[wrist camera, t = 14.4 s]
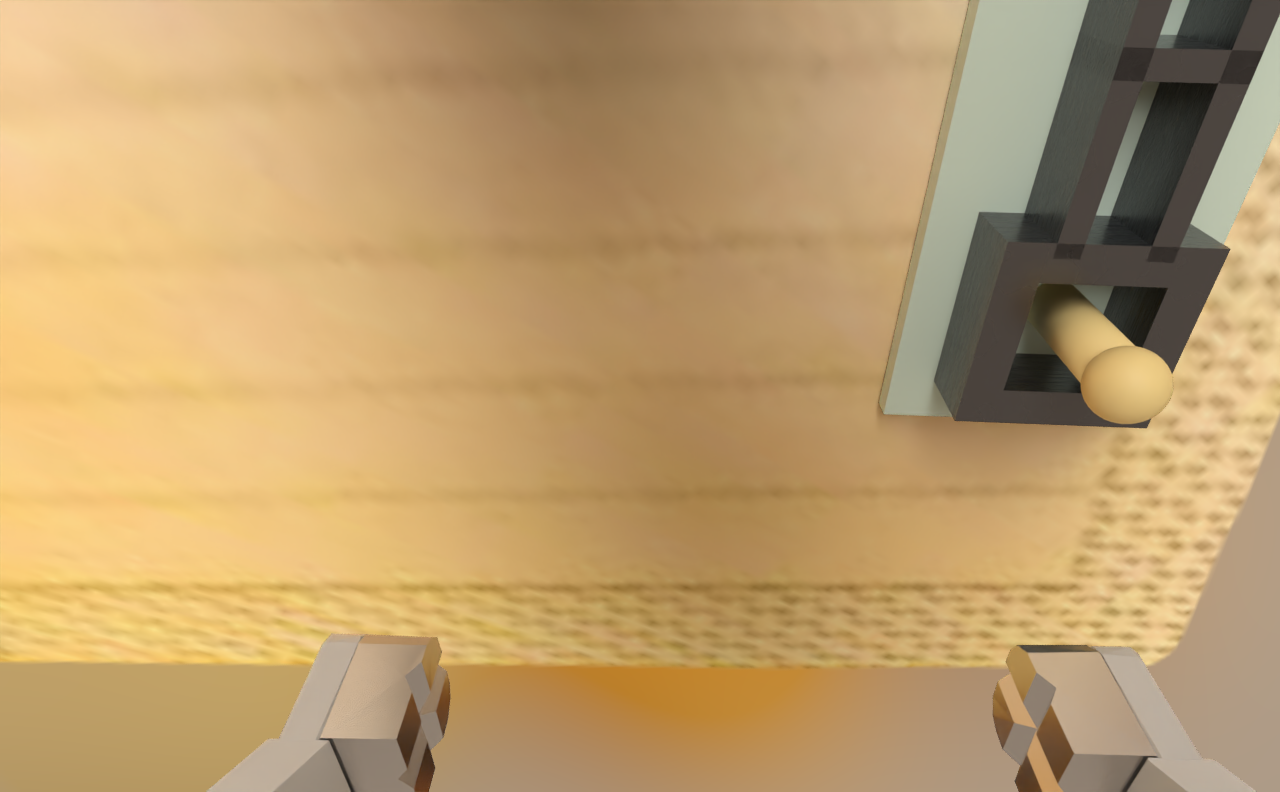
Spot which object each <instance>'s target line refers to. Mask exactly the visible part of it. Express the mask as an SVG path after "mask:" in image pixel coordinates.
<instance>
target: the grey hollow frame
mask: <svg viewBox="0 0 1280 792" xmlns="http://www.w3.org/2000/svg"><path fill="white" fill-rule="evenodd" d="M1171 2H1172V0H1089V2H1088V5H1087V9H1086V12H1085V15H1084V18H1083V22H1082V25H1081V28H1080V32H1079V35H1078V38H1077V42H1076V45H1075V48H1074V51H1073V55H1072V58H1071V61H1070V65H1069V68H1068V71H1067V75H1066V78H1065V81H1064V85H1063V88H1062V91H1061V94H1060V98H1059V101H1058V104H1057V108H1056V111H1055V114H1054V118H1053V121H1052V124H1051V127H1050V131H1049V134H1048V137H1047V141H1046V144H1045V147H1044V151H1043V154H1042V157H1041V160H1040V164H1039V167H1038V170H1037V174H1036V177H1035V180H1034V184H1033V187H1032V190H1031V194H1030V197H1029V200H1028V203H1027V207H1026V210H1025V213H1003V212H979V214H978V218H977V222H976V225H975V229H974V233H973V237H972V240H971V244H970V248H969V251H968V255H967V259H966V263H965V266H964V270H963V274H962V277H961V281H960V285H959V289H958V292H957V296H956V300H955V304H954V307H953V311H952V315H951V318H950V322H949V326H948V330H947V333H946V337H945V341H944V344H943V348H942V352H941V356H940V359H939V363H938V367H937V370H936V374H935V378H934V382H935V384H936V386H937V388H938V390H939V392H940V394H941V396H942V397H943V399H944V401H945V403H946V405H947V407H948V409H949V411H950V413H951V414H952V416H953V418H954V420H955V421H973V422H999V423H1025V424H1051V425H1077V426H1103V427H1128V428H1147V427H1148V424H1149V422H1150V420H1151V419H1149V420H1146V421H1143V422H1140V423H1135V424H1118V423H1114V422H1110V421H1107V420H1105V419H1103V418H1101V417H1099V416H1098V415H1096V414H1095V413H1094V412H1093V411H1092V410H1091V409H1090V408H1089V407H1088V406H1087V404H1086V402H1085V401H1084V399H1083V396H1082V393H1081V383H1080V382H1079V381H1078V380H1077V378H1076V377H1075V376H1074V375H1073V374H1072V372H1071V371H1070V370H1069V369H1068V368H1067V366H1066V365H1065V364H1064V363H1063V362H1062V360H1061V359H1060V358H1059V357H1058V356H1057V355H1052V354H1025V353H1016V351H1017V348H1018V345H1019V342H1020V339H1021V336H1022V333H1023V330H1024V327H1025V324H1026V321H1027V318H1028V315H1029V312H1030V309H1031V306H1032V303H1033V300H1034V297H1035V294H1036V291H1037V288H1038V285H1039V283H1043V284H1073V285H1102V286H1114V288H1113V290H1112V293H1111V295H1110V298H1109V301H1108V303H1107V306H1106V308H1105V311H1104V313H1103V315H1104V316H1105V317H1106V318H1107V319H1108V320H1109V321H1110V322H1111V323H1112V324H1113V325H1114V326H1115V327H1116V328H1117V329H1119V330H1120V331H1121V332H1122V333H1123V334H1124V335H1125V336H1126V337H1127V338H1128V339H1129V340H1130V341H1131V342H1132V343H1133V344H1134V345H1135V346H1137V347H1141V348H1145V349H1147V350H1150V351H1152V352H1154V353H1155V354H1157V355H1158V356H1159V357H1161V358H1162V359H1163V360H1164V361H1165V363H1166V364H1167V365H1168V367H1169V369H1170V371H1171V373H1173V371H1174V369H1175V367H1176V364H1177V362H1178V360H1179V358H1180V356H1181V354H1182V352H1183V349H1184V347H1185V345H1186V343H1187V341H1188V339H1189V337H1190V334H1191V332H1192V330H1193V328H1194V326H1195V324H1196V322H1197V319H1198V317H1199V315H1200V313H1201V311H1202V309H1203V307H1204V305H1205V302H1206V300H1207V298H1208V296H1209V294H1210V292H1211V290H1212V287H1213V285H1214V283H1215V281H1216V279H1217V277H1218V275H1219V272H1220V270H1221V268H1222V266H1223V264H1224V262H1225V260H1226V257H1227V255H1228V253H1229V251H1230V248H1228V247H1226V246H1225V245H1223V244H1222V243H1220V242H1219V241H1217V240H1215V239H1214V238H1212V237H1211V236H1209V235H1208V234H1206V233H1204V232H1203V231H1201V230H1200V229H1198V228H1197V227H1195V226H1193V225H1192V224H1190V223H1191V221H1192V218H1193V216H1194V214H1195V211H1196V209H1197V207H1198V204H1199V202H1200V200H1201V197H1202V195H1203V193H1204V190H1205V188H1206V186H1207V183H1208V181H1209V179H1210V176H1211V174H1212V172H1213V169H1214V167H1215V165H1216V162H1217V160H1218V158H1219V155H1220V153H1221V151H1222V148H1223V146H1224V144H1225V141H1226V139H1227V137H1228V134H1229V132H1230V130H1231V127H1232V125H1233V123H1234V120H1235V118H1236V116H1237V113H1238V111H1239V109H1240V106H1241V104H1242V102H1243V99H1244V97H1245V95H1246V92H1247V90H1248V88H1249V85H1250V83H1251V81H1252V78H1253V76H1254V74H1255V71H1256V69H1257V67H1258V64H1259V62H1260V60H1261V57H1262V55H1263V53H1264V50H1265V48H1266V46H1267V43H1268V41H1269V39H1270V36H1271V34H1272V32H1273V29H1274V27H1275V25H1276V22H1277V20H1278V18H1279V15H1280V0H1190V1H1189V4H1188V6H1187V9H1186V12H1185V15H1184V17H1183V20H1182V23H1181V25H1180V28H1179V31H1178V34H1177V35H1160V33H1161V31H1162V28H1163V25H1164V22H1165V19H1166V17H1167V14H1168V11H1169V8H1170V5H1171ZM1143 81H1145V82H1160V83H1159V85H1158V88H1157V91H1156V94H1155V96H1154V99H1153V102H1152V105H1151V107H1150V110H1149V113H1148V115H1147V118H1146V121H1145V124H1144V126H1143V129H1142V132H1141V134H1140V137H1139V140H1138V143H1137V145H1136V148H1135V151H1134V154H1133V156H1132V159H1131V162H1130V164H1129V167H1128V170H1127V173H1126V175H1125V178H1124V181H1123V184H1122V186H1121V189H1120V192H1119V194H1118V197H1117V200H1116V203H1115V205H1114V208H1113V211H1112V214H1111V216H1097V215H1096V213H1097V210H1098V208H1099V205H1100V202H1101V199H1102V196H1103V194H1104V191H1105V188H1106V185H1107V182H1108V180H1109V177H1110V174H1111V171H1112V168H1113V165H1114V163H1115V160H1116V157H1117V154H1118V151H1119V149H1120V146H1121V143H1122V140H1123V137H1124V135H1125V132H1126V129H1127V126H1128V123H1129V121H1130V118H1131V115H1132V112H1133V109H1134V106H1135V104H1136V101H1137V98H1138V95H1139V92H1140V90H1141V87H1142V84H1143Z"/></svg>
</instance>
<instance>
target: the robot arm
mask: <svg viewBox="0 0 1280 792" xmlns="http://www.w3.org/2000/svg"><path fill="white" fill-rule="evenodd" d="M441 653H442V651H441V648H440V644H439V641H438V638H437V637H415V636H390V635H367V634H331V635H330V636H329V637H328V638H327V639H326V640H325V642H324V643H323V644H322V646H321V648H320V650H319V652H318V654H317V656H316V659H315V661H314V663H313V665H312V667H311V670H310V672H309V674H308V676H307V678H306V680H305V683H304V685H303V687H302V689H301V691H300V693H299V696H298V698H297V700H296V702H295V704H294V706H293V709H292V711H291V713H290V715H289V717H288V720H287V722H286V724H285V726H284V729H283V730H282V733H281V735H280V737H279V739H268V740H266V741H265V742H264V743H263V744H262V745H260V746H259V747H258V748H257V749H256V750H255V751H253V752H252V753H251V754H250V755H249V756H247V757H246V758H245V759H244V760H243V761H241V762H240V763H239V764H238V765H237V766H236V767H235V768H233V769H232V770H231V771H230V772H229V773H227V774H226V775H225V776H224V777H223V778H221V779H220V780H219V781H218V782H217V783H216V784H214V785H213V786H212V787H211V788H210V789H208V790H207V791H206V792H429V789H430V786H431V781H432V778H433V774H434V771H435V765H434V762H433V758H432V755H431V751H430V750H431V749H432V748H433V747H434V746H435V745H436V744H437V743H438V742H439V741H440V740H441V739H442V738H443V737H444V733H445V729H446V725H447V720H448V715H449V705H450V682H449V678H448V674H447V671H446V670H444V669H443V668H442V667H440V666H439V665H438V664H439V660H440V657H441ZM1006 663H1007V666H1008V668H1009V671H1010V674H1008V675H1007V676H1005V677H1004V678H1002V679H1001V680H999V681H998V682H997V685H996V688H995V691H994V695H993V718H994V723H995V728H996V732H997V735H998V738H999V740H1000V743H1001V746H1002V749H1003V750H1004V751H1005V752H1006V753H1007V754H1008V755H1009V756H1010V757H1011V758H1013V759H1014V760H1015V761H1016V762H1017V763H1018V764H1019V765H1020V767H1019V770H1018V773H1017V776H1016V779H1015V783H1016V786H1017V788H1018V791H1019V792H1256V791H1255V790H1254V789H1253V788H1251V787H1250V786H1249V785H1247V784H1246V783H1245V782H1243V781H1242V780H1241V779H1239V778H1238V777H1237V776H1235V775H1234V774H1233V773H1231V772H1230V771H1229V770H1227V769H1226V768H1225V767H1223V766H1222V765H1221V764H1219V763H1218V762H1217V761H1216V760H1214V759H1202V757H1201V756H1200V754H1199V752H1198V751H1197V749H1196V748H1195V746H1194V744H1193V743H1192V741H1191V739H1190V738H1189V736H1188V734H1187V733H1186V731H1185V729H1184V728H1183V726H1182V725H1181V723H1180V721H1179V720H1178V718H1177V717H1176V715H1175V713H1174V711H1173V710H1172V708H1171V707H1170V705H1169V703H1168V702H1167V700H1166V698H1165V697H1164V695H1163V693H1162V692H1161V690H1160V688H1159V687H1158V685H1157V684H1156V682H1155V680H1154V679H1153V677H1152V675H1151V674H1150V672H1149V670H1148V669H1147V667H1146V666H1145V664H1144V662H1143V661H1142V659H1141V657H1140V656H1139V654H1138V653H1137V652H1135V651H1134V650H1133V649H1132V648H1131V647H1121V646H1092V647H1089V646H1087V645H1017V646H1015V647H1014V648H1013V649H1011V650H1010V652H1009V655H1008V657H1007V659H1006Z"/></svg>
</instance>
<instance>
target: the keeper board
mask: <svg viewBox="0 0 1280 792" xmlns="http://www.w3.org/2000/svg"><path fill="white" fill-rule="evenodd" d="M1189 1H1190V0H1172V2H1171V5H1170V8H1169V11H1168V14H1167V17H1166V19H1165V22H1164V25H1163V28H1162V31H1161V33H1160V35H1177V34H1178V31H1179V28H1180V25H1181V23H1182V20H1183V17H1184V15H1185V12H1186V9H1187V6H1188V4H1189ZM1088 2H1089V0H970V1H969V6H968V10H967V14H966V19H965V23H964V28H963V32H962V36H961V41H960V45H959V50H958V54H957V59H956V63H955V67H954V72H953V76H952V81H951V85H950V90H949V94H948V98H947V103H946V107H945V112H944V116H943V121H942V125H941V129H940V134H939V138H938V143H937V147H936V152H935V156H934V160H933V165H932V169H931V174H930V178H929V183H928V187H927V191H926V196H925V200H924V205H923V209H922V213H921V218H920V222H919V227H918V231H917V236H916V240H915V244H914V249H913V253H912V258H911V262H910V267H909V271H908V275H907V280H906V284H905V289H904V293H903V298H902V302H901V306H900V311H899V315H898V320H897V324H896V329H895V333H894V337H893V342H892V346H891V351H890V355H889V360H888V364H887V368H886V373H885V377H884V382H883V386H882V390H881V395H880V399H879V404H880V407H881V409H882V412H883V414H891V415H918V416H944V417H953V416H952V414H951V413H950V411H949V409H948V407H947V405H946V403H945V401H944V399H943V397H942V396H941V394H940V392H939V390H938V388H937V386H936V384H935V382H934V378H935V374H936V370H937V367H938V363H939V359H940V356H941V352H942V348H943V344H944V341H945V337H946V333H947V330H948V326H949V322H950V318H951V315H952V311H953V307H954V304H955V300H956V296H957V292H958V289H959V285H960V281H961V277H962V274H963V270H964V266H965V263H966V259H967V255H968V251H969V248H970V244H971V240H972V237H973V233H974V229H975V225H976V222H977V218H978V214H979V212H1003V213H1025V210H1026V207H1027V203H1028V200H1029V197H1030V194H1031V190H1032V187H1033V184H1034V180H1035V177H1036V174H1037V170H1038V167H1039V164H1040V160H1041V157H1042V154H1043V151H1044V147H1045V144H1046V141H1047V137H1048V134H1049V131H1050V127H1051V124H1052V121H1053V118H1054V114H1055V111H1056V108H1057V104H1058V101H1059V98H1060V94H1061V91H1062V88H1063V85H1064V81H1065V78H1066V75H1067V71H1068V68H1069V65H1070V61H1071V58H1072V55H1073V51H1074V48H1075V45H1076V42H1077V38H1078V35H1079V32H1080V28H1081V25H1082V22H1083V18H1084V15H1085V12H1086V9H1087V5H1088ZM1159 83H1160V82H1145V81H1143V84H1142V87H1141V90H1140V92H1139V95H1138V98H1137V101H1136V104H1135V106H1134V109H1133V112H1132V115H1131V118H1130V121H1129V123H1128V126H1127V129H1126V132H1125V135H1124V137H1123V140H1122V143H1121V146H1120V149H1119V151H1118V154H1117V157H1116V160H1115V163H1114V165H1113V168H1112V171H1111V174H1110V177H1109V180H1108V182H1107V185H1106V188H1105V191H1104V194H1103V196H1102V199H1101V202H1100V205H1099V208H1098V210H1097V213H1096V215H1097V216H1111V214H1112V211H1113V208H1114V205H1115V203H1116V200H1117V197H1118V194H1119V192H1120V189H1121V186H1122V184H1123V181H1124V178H1125V175H1126V173H1127V170H1128V167H1129V164H1130V162H1131V159H1132V156H1133V154H1134V151H1135V148H1136V145H1137V143H1138V140H1139V137H1140V134H1141V132H1142V129H1143V126H1144V124H1145V121H1146V118H1147V115H1148V113H1149V110H1150V107H1151V105H1152V102H1153V99H1154V96H1155V94H1156V91H1157V88H1158V85H1159ZM1279 123H1280V15H1279V18H1278V20H1277V22H1276V25H1275V27H1274V29H1273V32H1272V34H1271V36H1270V39H1269V41H1268V43H1267V46H1266V48H1265V50H1264V53H1263V55H1262V57H1261V60H1260V62H1259V64H1258V67H1257V69H1256V71H1255V74H1254V76H1253V78H1252V81H1251V83H1250V85H1249V88H1248V90H1247V92H1246V95H1245V97H1244V99H1243V102H1242V104H1241V106H1240V109H1239V111H1238V113H1237V116H1236V118H1235V120H1234V123H1233V125H1232V127H1231V130H1230V132H1229V134H1228V137H1227V139H1226V141H1225V144H1224V146H1223V148H1222V151H1221V153H1220V155H1219V158H1218V160H1217V162H1216V165H1215V167H1214V169H1213V172H1212V174H1211V176H1210V179H1209V181H1208V183H1207V186H1206V188H1205V190H1204V193H1203V195H1202V197H1201V200H1200V202H1199V204H1198V207H1197V209H1196V211H1195V214H1194V216H1193V218H1192V221H1191V223H1190V224H1192V225H1193V226H1195V227H1197V228H1198V229H1200V230H1201V231H1203V232H1204V233H1206V234H1208V235H1209V236H1211V237H1212V238H1214V239H1215V240H1217V241H1219V242H1220V243H1222V244H1223V245H1224V242H1225V240H1226V238H1227V236H1228V234H1229V232H1230V229H1231V227H1232V225H1233V223H1234V221H1235V219H1236V216H1237V214H1238V212H1239V210H1240V208H1241V205H1242V203H1243V201H1244V199H1245V197H1246V195H1247V192H1248V190H1249V188H1250V186H1251V184H1252V182H1253V179H1254V177H1255V175H1256V173H1257V171H1258V168H1259V166H1260V164H1261V162H1262V160H1263V158H1264V155H1265V153H1266V151H1267V149H1268V147H1269V145H1270V142H1271V140H1272V138H1273V136H1274V134H1275V131H1276V129H1277V127H1278V125H1279ZM1113 288H1114V286H1102V285H1073V284H1043V283H1039V285H1038V288H1037V291H1036V294H1035V297H1034V300H1033V303H1032V306H1031V309H1030V312H1029V315H1028V318H1027V321H1026V324H1025V327H1024V330H1023V333H1022V336H1021V339H1020V342H1019V345H1018V348H1017V351H1016V353H1025V354H1052V355H1057V356H1058V357H1059V358H1060V359H1061V360H1062V362H1063V363H1064V364H1065V365H1066V366H1067V368H1068V369H1069V370H1070V371H1071V372H1072V374H1073V375H1074V376H1075V377H1076V378H1077V380H1078V381H1079V382H1080V383H1081V393H1082V396H1083V399H1084V401H1085V402H1086V404H1087V406H1088V407H1089V408H1090V409H1091V410H1092V411H1093V412H1094V413H1095V414H1096V415H1098V416H1099V417H1101V418H1103V419H1105V420H1107V421H1110V422H1114V423H1118V424H1135V423H1140V422H1143V421H1146V420H1149V419H1151V418H1153V417H1154V416H1156V415H1157V414H1159V413H1160V412H1161V411H1162V410H1163V409H1164V408H1165V407H1166V405H1167V404H1168V403H1169V401H1170V399H1171V396H1172V393H1173V387H1174V382H1173V376H1172V373H1171V371H1170V369H1169V367H1168V365H1167V364H1166V363H1165V361H1164V360H1163V359H1162V358H1161V357H1159V356H1158V355H1157V354H1155V353H1154V352H1152V351H1150V350H1147V349H1145V348H1141V347H1137V346H1135V345H1134V344H1133V343H1132V342H1131V341H1130V340H1129V339H1128V338H1127V337H1126V336H1125V335H1124V334H1123V333H1122V332H1121V331H1120V330H1119V329H1117V328H1116V327H1115V326H1114V325H1113V324H1112V323H1111V322H1110V321H1109V320H1108V319H1107V318H1106V317H1105V316H1104V315H1103V313H1104V311H1105V308H1106V306H1107V303H1108V301H1109V298H1110V295H1111V293H1112V290H1113Z"/></svg>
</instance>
